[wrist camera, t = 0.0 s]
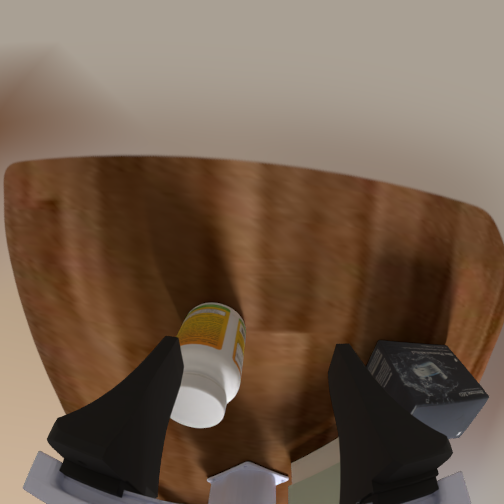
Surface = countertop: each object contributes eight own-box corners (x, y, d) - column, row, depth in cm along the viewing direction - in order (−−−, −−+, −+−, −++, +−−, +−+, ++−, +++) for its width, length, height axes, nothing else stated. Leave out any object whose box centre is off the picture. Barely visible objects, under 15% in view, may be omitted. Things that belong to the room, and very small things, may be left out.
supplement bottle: (173, 326, 24) (133, 400, 15) (212, 288, 23) (181, 361, 14) (218, 362, 25) (199, 443, 16) (259, 329, 24) (255, 413, 15)
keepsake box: (327, 476, 31) (330, 497, 27) (291, 463, 30) (292, 486, 26) (419, 419, 27) (429, 440, 23) (392, 400, 26) (403, 424, 22)
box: (447, 342, 24) (492, 396, 15) (425, 382, 25) (459, 439, 16) (377, 336, 24) (417, 406, 15) (356, 381, 25) (382, 453, 16)
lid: (291, 538, 18) (288, 537, 18) (291, 487, 26) (288, 486, 26) (426, 482, 14) (424, 481, 14) (403, 424, 22) (401, 423, 22)
